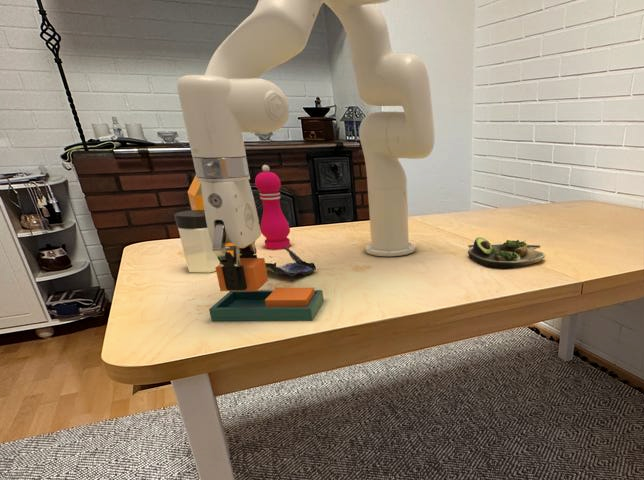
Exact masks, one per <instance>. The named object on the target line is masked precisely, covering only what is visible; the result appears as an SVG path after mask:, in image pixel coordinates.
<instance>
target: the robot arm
mask: <svg viewBox="0 0 644 480" xmlns="http://www.w3.org/2000/svg"><path fill="white" fill-rule="evenodd" d="M389 1H390V0H258V1H257V4H256V6H255V8H254V9H253V11H252V12H251V14H249V15H248V16H247V17H246V18H245V19H244V20H243V21H241V22H240V24H239V25H238V26H237V27H236V28H234V30H233V31H232V32H231V33H230V34H229V35H228V36H227V37H226V38H225V39H224V40H223V41H222V42H221V44H220V45H218V47H217V48H216V50H215V51H214V53H213V55H212V56H211V58H210V59H209V63H208V65H207V67H206V69H205V72H204V74H188V75H183V76H180V77H179V79H178V80H177V83H176V86H177V87H176V89H177V93H178V98H179V103H180V108H181V112H182V117H183V121H184V126H185V130H186V135H187V140H188V144H189V149H190V152H191V157H192V163H193V167H194V171H195V175H196V176H197V181H200V182H201V188H202V197H203V205H204V211H205V217H206V223H207V228H208V232H209V236H210V240H211V243H212V245H213V247H212V250H213V252H214V253H215V255H216V256H217V258H218V260H219V262H220V266H221V267H222V271H223V276H224V281H225V286H226V289H227V290H246V289H247V284H246V279H245V274H244V269H243V265H240V258H258V255H257V254H258V251H257V246H256V244H255V243H256V241H257V240H258V239H260V238H261V235H262V233H261V224H260V220H259V216H258V210H257V206H256V203H255V202H256V201H255V197H254V195H253V194H254V193H253V190H252V187H251V183H250V180H251V176H250V170H249V163H248V158H247V153H246V147H245V141H244V135H243V133H251V134H269V133H273V132H276V131H279V130H280V129H282V128H283V127H284V126H285V125H286V123H287V121H288V119H289V117H290V105H289V101H288V99H287V96H286V95H285V93H284V92H283V90H282V89H281V88H280V87H279V86H278V85H277V84H275V83H274V82H272V81H270V80H268V79H264V78H260V77H262V76H263V75H264V74H265V73H266V72H268V71H270V70H272V69H274V68H276V67H278V66H281V65H282V64H284V63H286V62H288V61H289V60H291V59H293V58H294V57H296V56H298V55H299V54H301V52H302V51H304V49H305V48H306V46H307V43H308V41H309V37H310V35H311V32H312V30H313V27H314V24H315V22H316V19H317V17H318V14H319V12H320V9H321V7H322V6H323V4H325V5H326V6H327V7H328V8H329V9H330V10H331V11H332V12H333V13H334V14H335V16H336V17H337V18H338V20H339V21H340V23H341V25H342V26H343V28H344V32H345V34H346V37H347V42H348V46H349V52H350V56H351V62H352V67H353V73H354V78H355V83H356V89H357V92H358V94H359V98H360V99H361V100H362V102H363V103H365V104H366V105H369V106H375V107H402V109H403V111H374V112H371V113H369V114H367V115H365V116H364V117H363V119H362V120H361V122H360V125H359V128H358V129H359V130H358V135H359V141H360V145H361V150H362V154H363V158H364V164H365V172H366V185H367V197H368V198H367V199H368V200H367V201H368V213H369V214H368V215H369V229H370V243H369V244H366V245H365V252H366V253H367V254H369V255H371V256H376V257H402V256H407V255H410V254H412V253H414V252H415V251H416V246H415V245H414V244H413V243H411V242H410V241H409V239H410V238H409V211H408V209H409V207H408V206H409V205H408V204H409V203H408V180H407V175H406V171H405V169H404V167H403V165H402V164H401V162H400V159H408V160H409V159H411V160H413V159H415V160H419V159H420V160H421V159H425V158H427V157H429V156H430V155H431V153H432V152H433V150H434V147H435V136H436V135H435V122H434V115H433V113H434V112H433V103H432V102H433V101H432V93H431V84H430V78H429V73H428V69H427V67H426V65H425V63H424V61H423V60H422V58H420V56H418V55H417V54H414V53H410V52H404V53H401V52H400V53H394V52H393V49H392V46H391V44H392V43H391V40H390V39H391V38H390V35H389V29H388V24H387V21H386V19H385V16H384V15H383V13H382V11H381V9H380V7H379V6H378V5H379V4H384V3H385V4H386V3H388V2H389ZM227 243H232V244H233V245H234V246H225V245H226V244H227ZM227 251H233V256H232V255H231V253H230V252H227ZM240 254H241V255H240Z"/></svg>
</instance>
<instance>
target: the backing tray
mask: <svg viewBox="0 0 644 480" xmlns="http://www.w3.org/2000/svg"><path fill="white" fill-rule="evenodd" d="M314 290H315V296H314V297H313V299H312V300H311V302H310V304H309V305H308V307H266V304H265V299H266V298H267V297H268V296H269V295H270V294H271V293H272V292H273V291H274V289H272V290H270V289H268V290H267V289H265V290H263V289H261V290H260V289H258V290H257V291H228V292H227V293H226V294H225V295H224V296H223V297H222V298H220V299H219V300H218V301H216V302H215V304H213V305H212V306H211V307H210V308H209V309H208V311H209V315H210V321H211V322H253V321H254V322H256V321H257V322H263V321H265V322H267V321H269V322H271V321H272V322H274V321H277V322H278V321H279V322H280V321H313V320H314V318H315V317H316V315H317V313H318V312H319V310H320V308H321V306H322V305H323V303H324V299H325V298H324V292H323V289H314Z"/></svg>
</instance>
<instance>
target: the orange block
mask: <svg viewBox="0 0 644 480" xmlns="http://www.w3.org/2000/svg"><path fill="white" fill-rule="evenodd" d="M265 263H266V260H265V258H264V257H257V258H240V265H243V269H244V274H245V279H246V284H247V289H246V290H227V289H226V286H225V281H224V276H223V271H222V267H221V266H220V265H218V266H217V267H215V268H216V271H215V273H216V276H217V281H218V286H219V290H220V292H230V291H257V290H260V289H261V288H262V287H263V286H264V285H265V284H266V283H267V282H268V281H269V278H268V270H267V269H266V265H265Z"/></svg>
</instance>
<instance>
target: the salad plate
mask: <svg viewBox="0 0 644 480" xmlns="http://www.w3.org/2000/svg"><path fill="white" fill-rule="evenodd" d="M505 241H506V242H503V243H498V244H491V242H490V241H488V240H487V239H486V238H484V237H479V236H478V237H476V238H475V240H474V242H473V244H469V245H467V247H468V250H467V254H468V255H469V257H470V259H471V260H472V261H474V262H476V263H477V264H479V265H481V266H484V267H487V268H493V269H513V268H517V267H518V268H520V267H526V266H529V265H533V264H537V263H539V262H540V261H542V260H543V259H545V258H546V254H545V253H544V252H541V251H539V250H538V251H537V249H540V248H541V245H539V244H528V243H527V241H526V240H522V241H520V240H519V239H517V240H510V239H507V240H505Z"/></svg>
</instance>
